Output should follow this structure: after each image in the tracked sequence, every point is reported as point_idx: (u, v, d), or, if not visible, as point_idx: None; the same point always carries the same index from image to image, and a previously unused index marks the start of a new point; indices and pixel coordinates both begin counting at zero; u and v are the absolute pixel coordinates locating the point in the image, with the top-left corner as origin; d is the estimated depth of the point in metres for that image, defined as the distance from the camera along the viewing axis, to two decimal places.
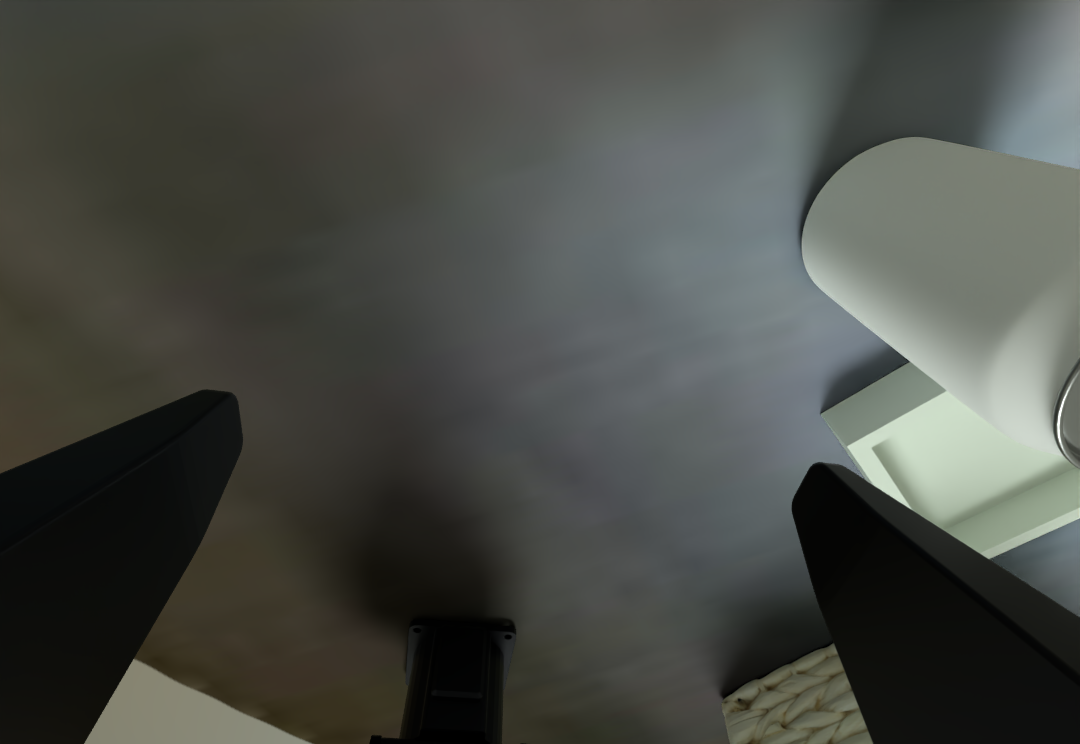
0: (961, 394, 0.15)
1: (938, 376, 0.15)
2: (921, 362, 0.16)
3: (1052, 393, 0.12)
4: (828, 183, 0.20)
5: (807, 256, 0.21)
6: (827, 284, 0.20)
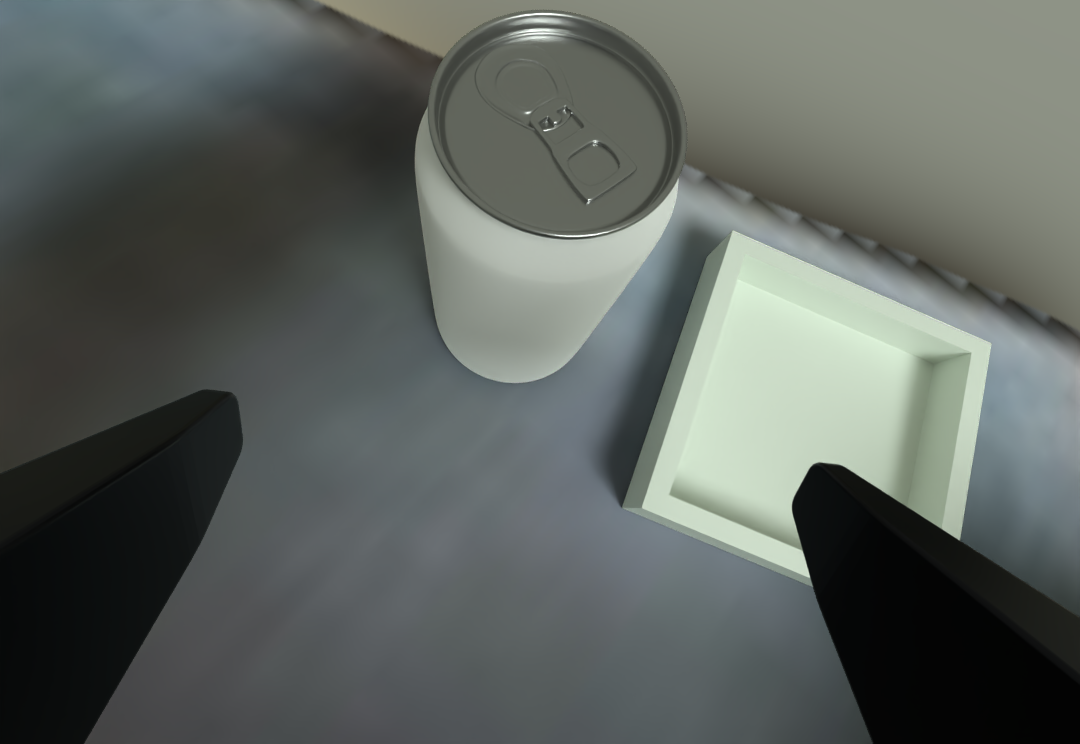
0: (493, 290, 0.13)
1: (489, 303, 0.14)
2: (486, 312, 0.15)
3: (460, 191, 0.11)
4: None
5: (458, 357, 0.21)
6: (472, 358, 0.20)
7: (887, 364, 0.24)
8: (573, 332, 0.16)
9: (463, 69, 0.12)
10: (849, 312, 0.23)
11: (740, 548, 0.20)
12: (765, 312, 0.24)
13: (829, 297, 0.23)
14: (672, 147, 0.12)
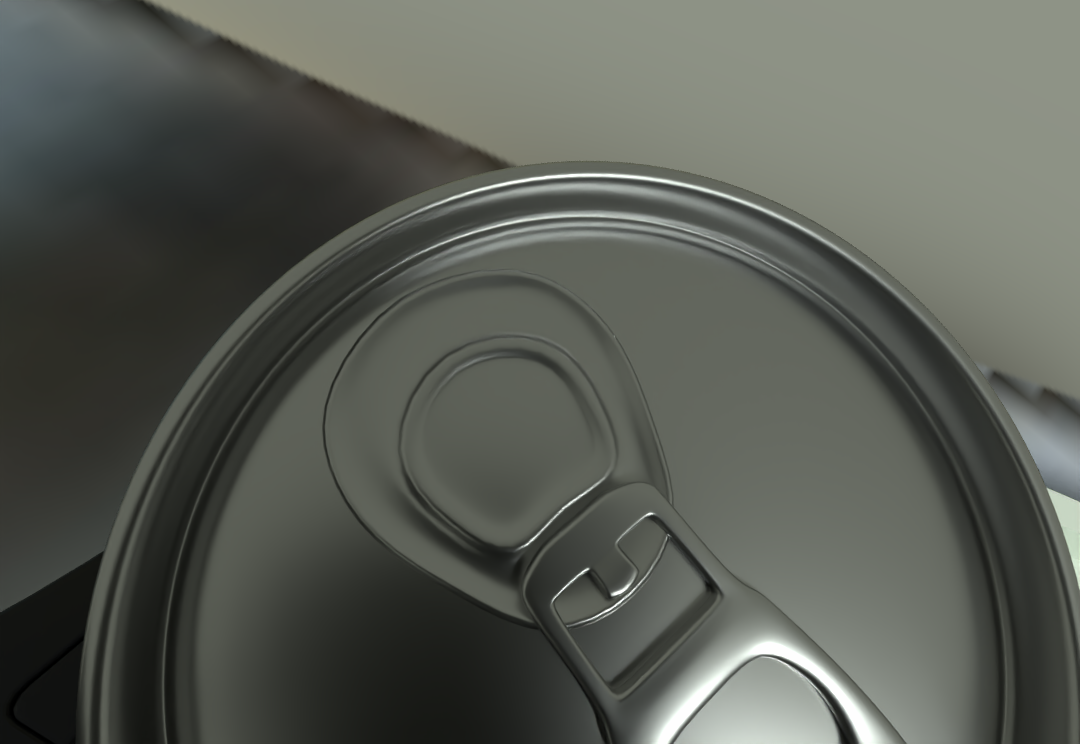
0: None
1: None
2: None
3: None
4: None
5: None
6: None
7: None
8: None
9: (284, 387, 0.03)
10: None
11: None
12: None
13: None
14: (1000, 621, 0.04)
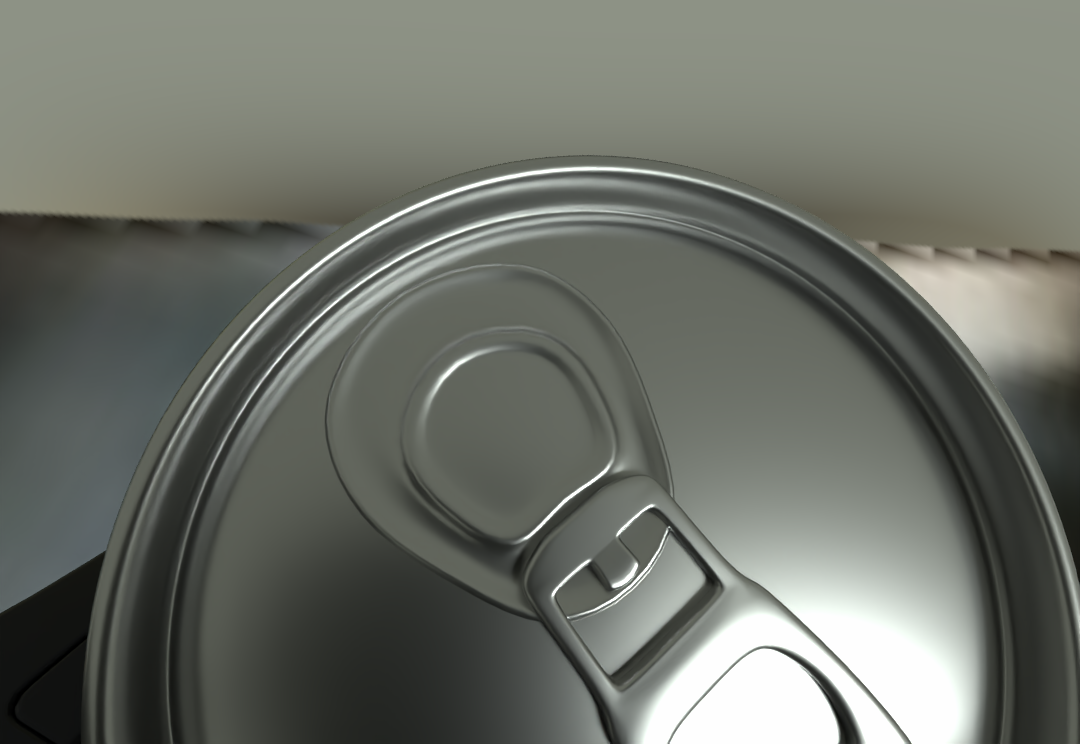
0: None
1: None
2: None
3: None
4: None
5: None
6: None
7: None
8: None
9: (286, 380, 0.03)
10: None
11: None
12: None
13: None
14: (999, 613, 0.04)
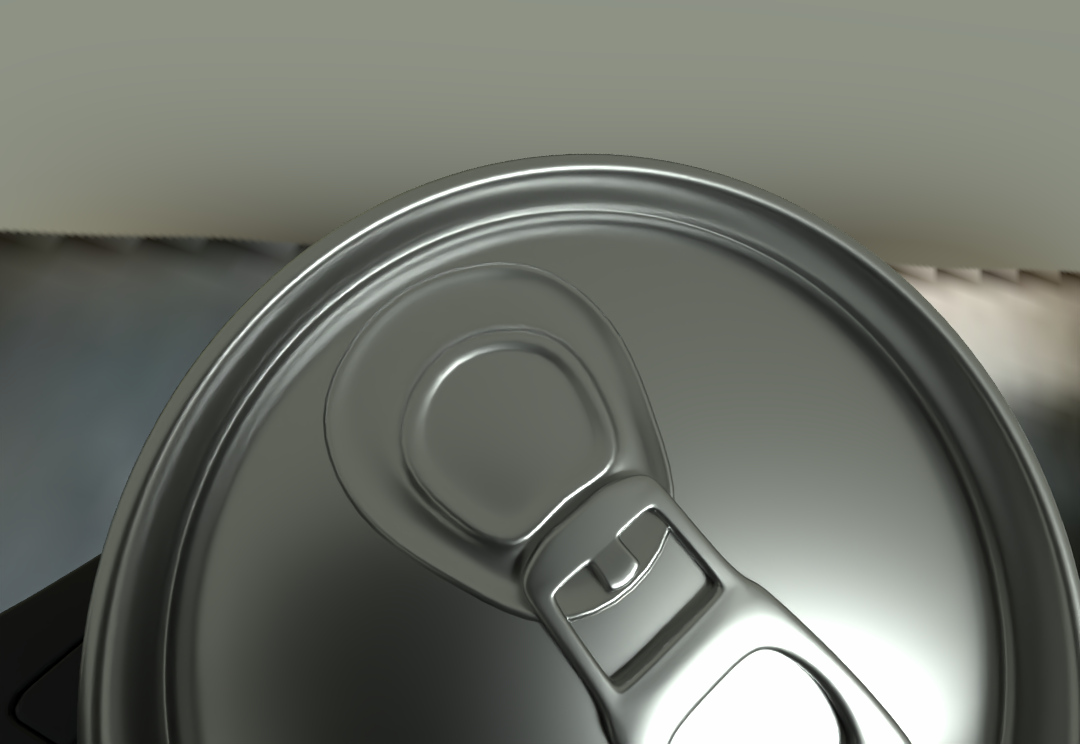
0: None
1: None
2: None
3: None
4: None
5: None
6: None
7: None
8: None
9: (284, 380, 0.03)
10: None
11: None
12: None
13: None
14: (1000, 614, 0.04)
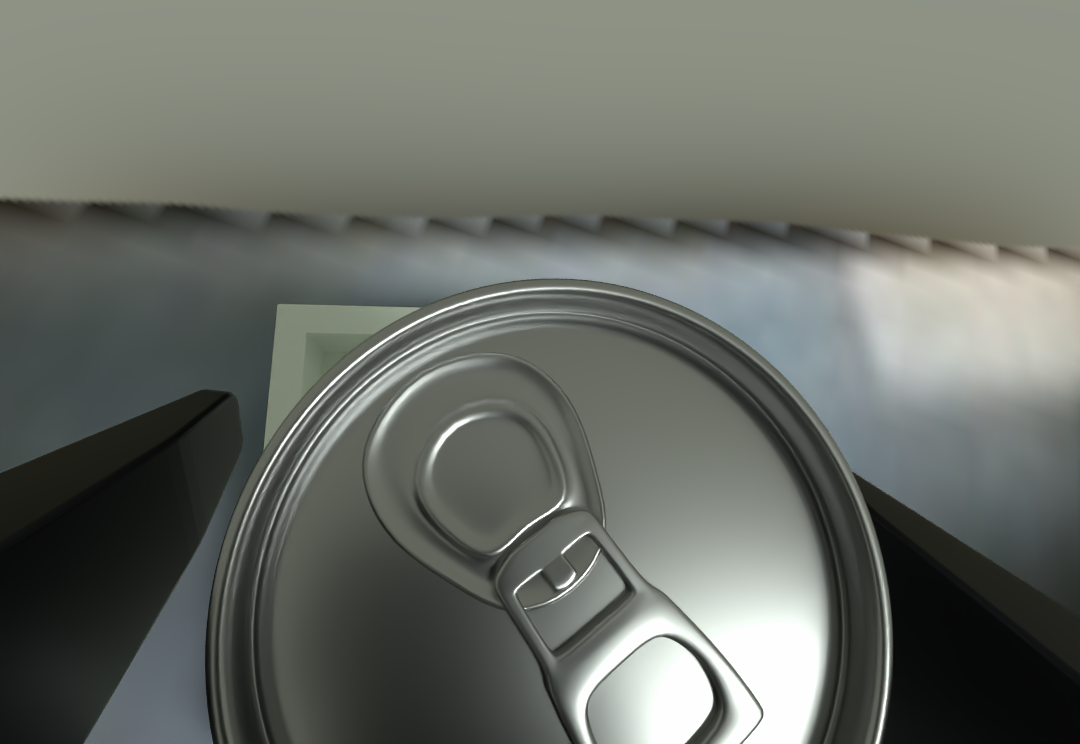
0: None
1: None
2: None
3: None
4: None
5: None
6: None
7: None
8: None
9: (336, 434, 0.05)
10: None
11: None
12: None
13: None
14: (842, 621, 0.05)
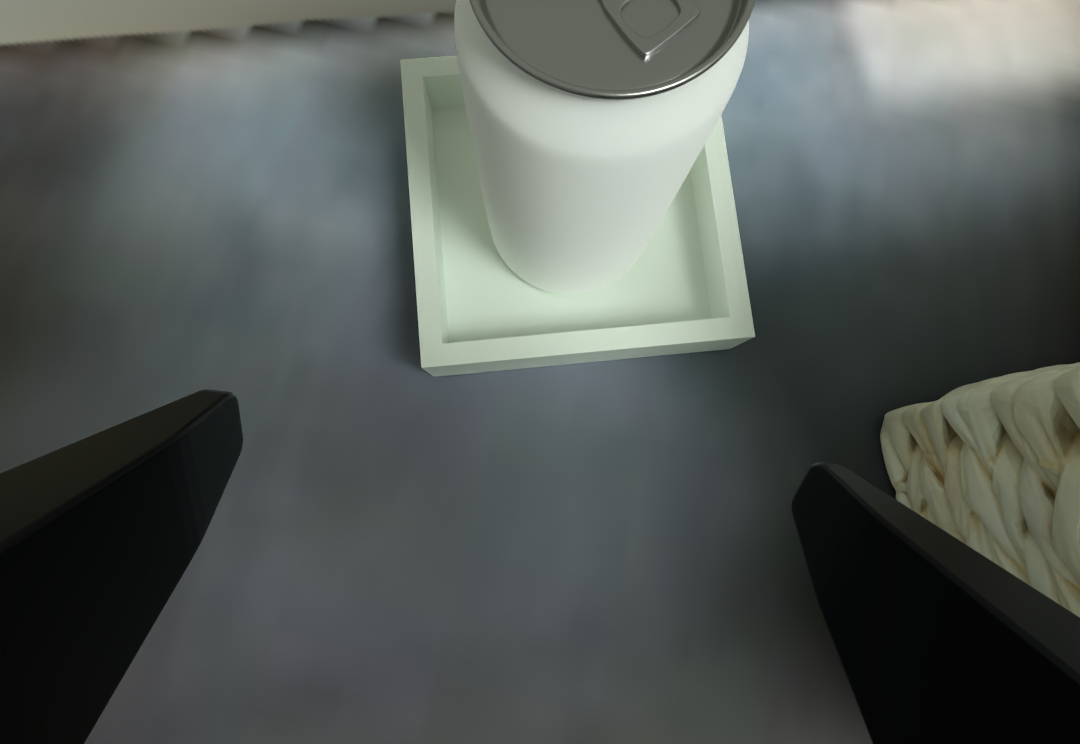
0: (546, 175, 0.12)
1: (543, 193, 0.13)
2: (541, 206, 0.14)
3: (503, 57, 0.10)
4: None
5: (516, 270, 0.21)
6: (529, 268, 0.19)
7: None
8: (634, 225, 0.15)
9: None
10: None
11: (530, 357, 0.19)
12: None
13: None
14: None
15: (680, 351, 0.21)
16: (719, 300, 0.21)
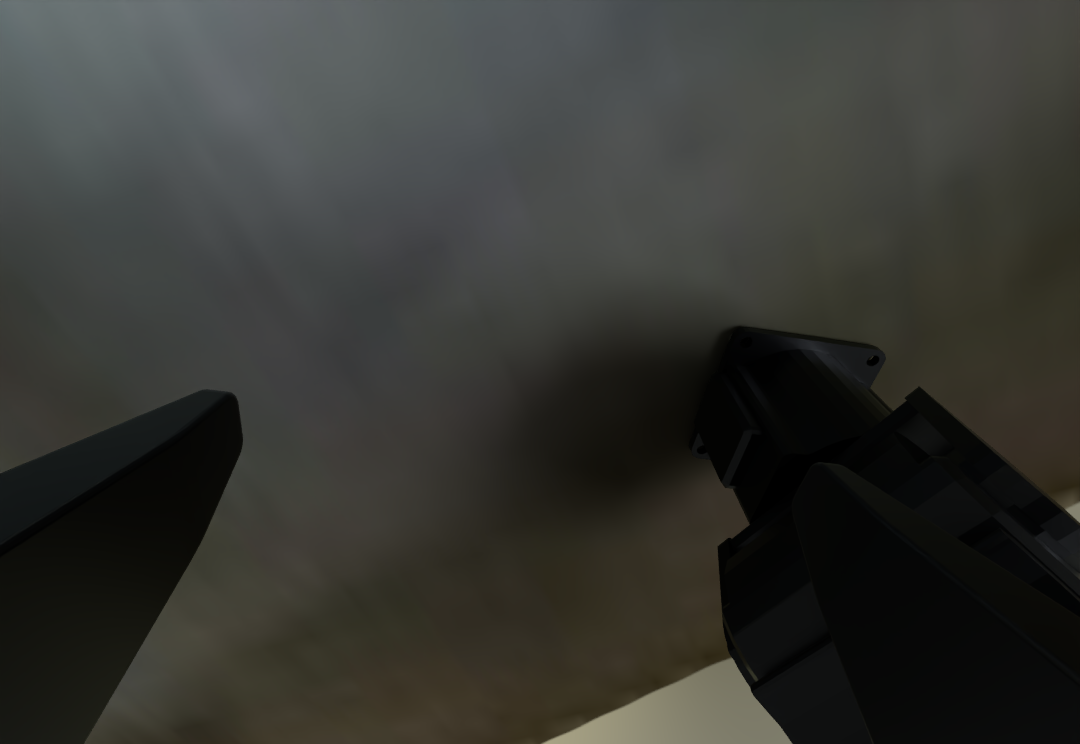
0: None
1: None
2: None
3: None
4: None
5: None
6: None
7: None
8: None
9: None
10: None
11: None
12: None
13: None
14: None
15: None
16: None
